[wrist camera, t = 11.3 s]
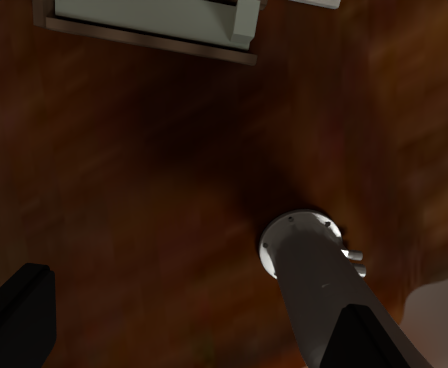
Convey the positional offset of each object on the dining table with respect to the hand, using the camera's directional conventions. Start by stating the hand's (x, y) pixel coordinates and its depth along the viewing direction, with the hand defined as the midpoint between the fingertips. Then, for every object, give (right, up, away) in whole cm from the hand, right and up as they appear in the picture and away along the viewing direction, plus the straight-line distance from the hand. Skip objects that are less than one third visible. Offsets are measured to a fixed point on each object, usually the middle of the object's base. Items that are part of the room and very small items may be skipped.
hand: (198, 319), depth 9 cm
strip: (-7, +24, +23) cm, 34 cm away
